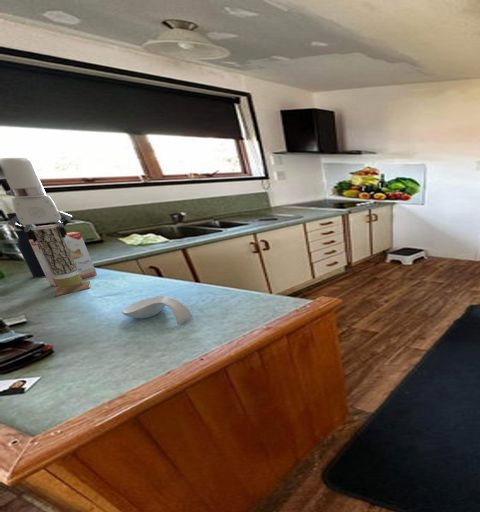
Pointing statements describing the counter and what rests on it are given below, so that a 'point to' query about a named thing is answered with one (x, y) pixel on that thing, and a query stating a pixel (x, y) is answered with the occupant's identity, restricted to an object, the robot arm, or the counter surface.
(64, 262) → the bark print canister
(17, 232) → the wine bottle
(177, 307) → the spoon rest
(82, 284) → the coaster
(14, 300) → the counter surface
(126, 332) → the counter surface
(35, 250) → the cracker box
